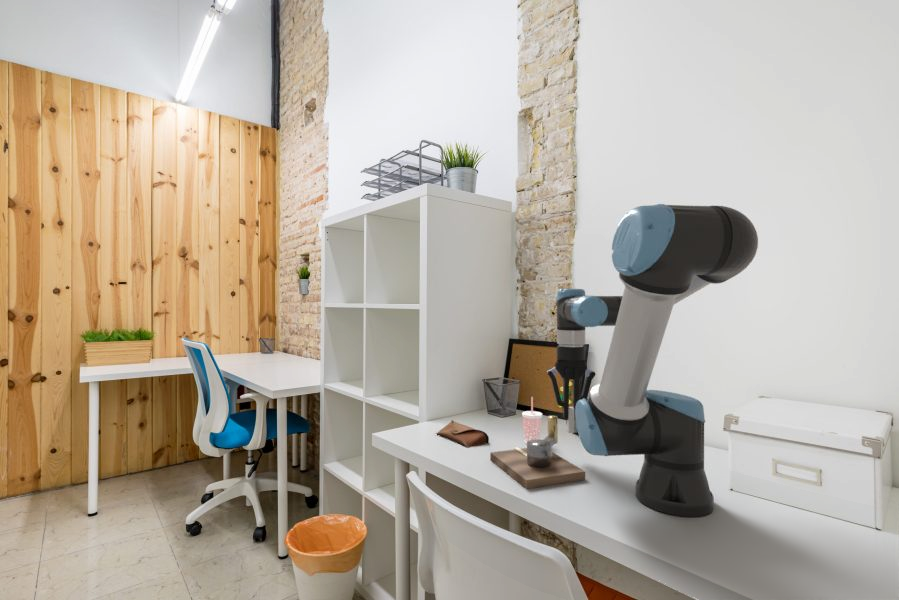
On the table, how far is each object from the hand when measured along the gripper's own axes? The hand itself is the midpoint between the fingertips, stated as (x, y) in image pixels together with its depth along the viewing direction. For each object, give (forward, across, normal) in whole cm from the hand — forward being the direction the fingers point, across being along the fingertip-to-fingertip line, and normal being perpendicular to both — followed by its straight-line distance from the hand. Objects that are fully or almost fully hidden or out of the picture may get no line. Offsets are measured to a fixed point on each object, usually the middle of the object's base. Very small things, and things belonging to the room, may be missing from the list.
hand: (570, 431), depth 123 cm
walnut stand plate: (+8, +10, +9) cm, 15 cm away
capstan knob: (+5, +7, +6) cm, 11 cm away
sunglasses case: (+8, +32, -15) cm, 36 cm away
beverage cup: (+8, +10, -13) cm, 18 cm away
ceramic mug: (+8, -7, -28) cm, 30 cm away
